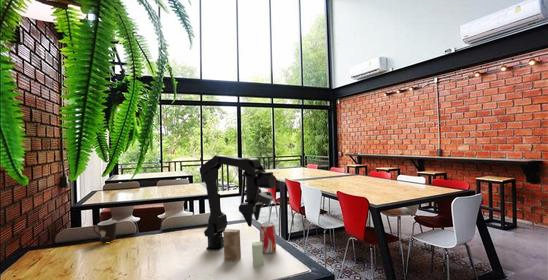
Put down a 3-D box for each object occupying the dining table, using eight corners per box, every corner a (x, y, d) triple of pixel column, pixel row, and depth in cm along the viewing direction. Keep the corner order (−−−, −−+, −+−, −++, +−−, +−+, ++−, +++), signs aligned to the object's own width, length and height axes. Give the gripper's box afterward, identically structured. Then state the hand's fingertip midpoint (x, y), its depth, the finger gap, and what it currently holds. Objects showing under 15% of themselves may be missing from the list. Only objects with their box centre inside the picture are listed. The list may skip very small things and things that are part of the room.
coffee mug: (120, 240, 150) (120, 221, 151) (103, 245, 143) (103, 225, 143) (109, 237, 157) (108, 219, 157) (92, 242, 149) (91, 223, 150)
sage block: (252, 266, 112) (252, 245, 112) (253, 261, 116) (252, 242, 116) (263, 265, 112) (262, 245, 112) (262, 261, 116) (262, 241, 116)
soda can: (274, 254, 122) (273, 226, 122) (258, 254, 124) (257, 226, 124) (277, 248, 129) (276, 222, 129) (262, 248, 131) (261, 221, 131)
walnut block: (224, 260, 119) (223, 231, 119) (228, 257, 122) (226, 229, 122) (237, 261, 117) (236, 232, 117) (241, 258, 120) (239, 229, 120)
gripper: (264, 191, 111) (265, 231, 111) (276, 184, 129) (277, 218, 129) (237, 191, 114) (238, 229, 114) (252, 183, 132) (253, 217, 132)
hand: (253, 223), depth 123 cm, fingers open, 9 cm apart
